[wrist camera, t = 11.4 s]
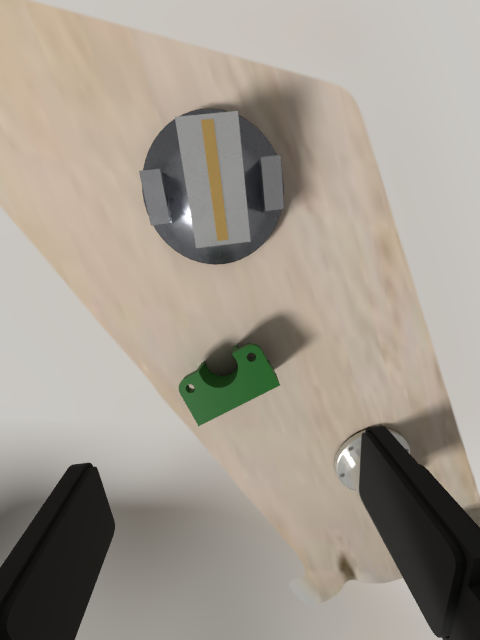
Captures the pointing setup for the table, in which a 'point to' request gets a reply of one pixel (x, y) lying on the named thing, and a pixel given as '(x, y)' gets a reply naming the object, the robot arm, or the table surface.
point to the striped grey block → (214, 177)
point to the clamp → (228, 385)
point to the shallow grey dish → (172, 201)
